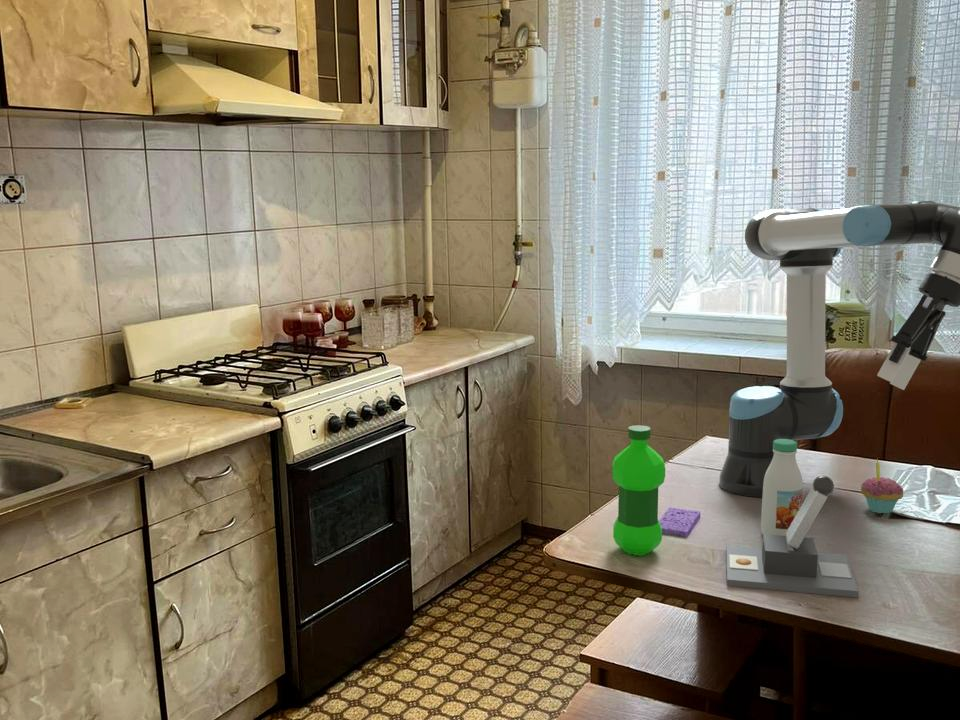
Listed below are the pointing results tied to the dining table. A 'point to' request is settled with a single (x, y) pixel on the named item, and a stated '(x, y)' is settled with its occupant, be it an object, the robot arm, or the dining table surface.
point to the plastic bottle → (638, 494)
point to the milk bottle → (781, 489)
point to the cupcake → (881, 493)
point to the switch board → (790, 580)
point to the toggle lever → (809, 510)
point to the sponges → (679, 521)
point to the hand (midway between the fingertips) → (890, 383)
